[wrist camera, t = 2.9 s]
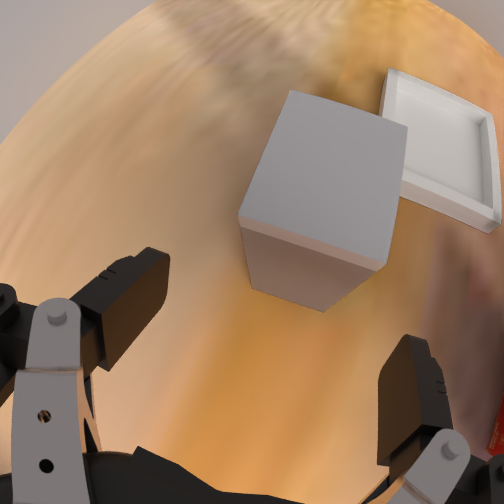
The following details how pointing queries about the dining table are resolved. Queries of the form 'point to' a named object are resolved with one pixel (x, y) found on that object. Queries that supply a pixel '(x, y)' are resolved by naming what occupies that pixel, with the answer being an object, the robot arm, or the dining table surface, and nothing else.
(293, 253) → the tall grey carton
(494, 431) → the medicine box
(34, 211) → the dining table surface
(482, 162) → the tray
